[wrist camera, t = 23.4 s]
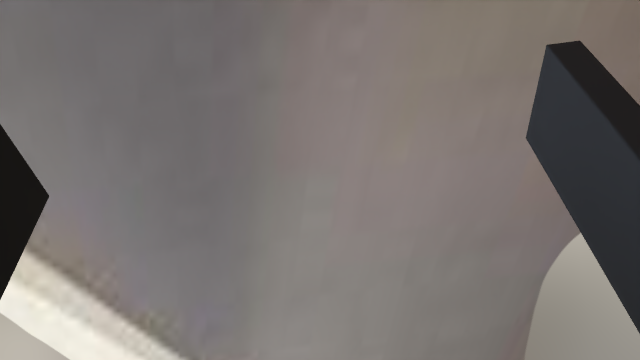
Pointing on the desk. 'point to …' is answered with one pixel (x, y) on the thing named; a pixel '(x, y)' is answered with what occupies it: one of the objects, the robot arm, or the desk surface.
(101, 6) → the desk surface
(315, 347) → the desk surface
